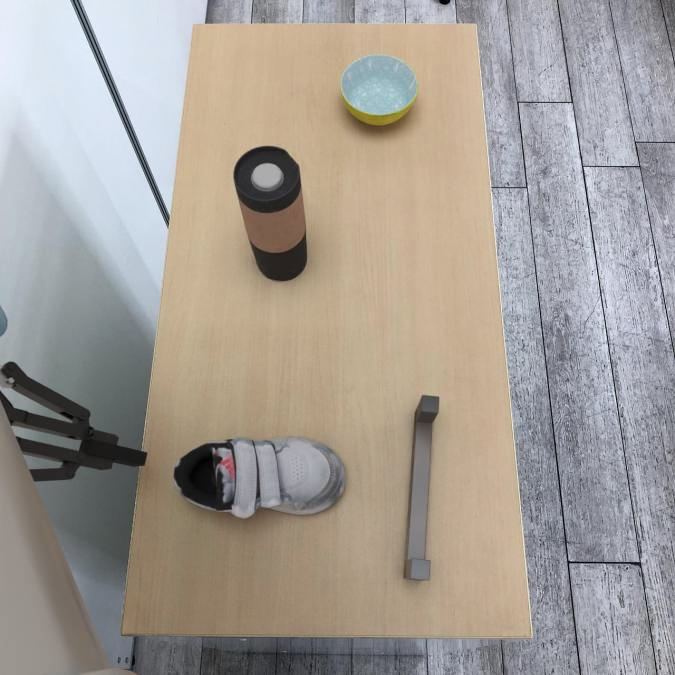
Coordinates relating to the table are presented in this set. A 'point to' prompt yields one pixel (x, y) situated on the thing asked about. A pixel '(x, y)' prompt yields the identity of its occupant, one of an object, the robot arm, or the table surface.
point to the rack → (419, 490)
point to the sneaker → (261, 476)
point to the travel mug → (273, 210)
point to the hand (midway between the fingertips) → (140, 459)
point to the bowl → (378, 88)
